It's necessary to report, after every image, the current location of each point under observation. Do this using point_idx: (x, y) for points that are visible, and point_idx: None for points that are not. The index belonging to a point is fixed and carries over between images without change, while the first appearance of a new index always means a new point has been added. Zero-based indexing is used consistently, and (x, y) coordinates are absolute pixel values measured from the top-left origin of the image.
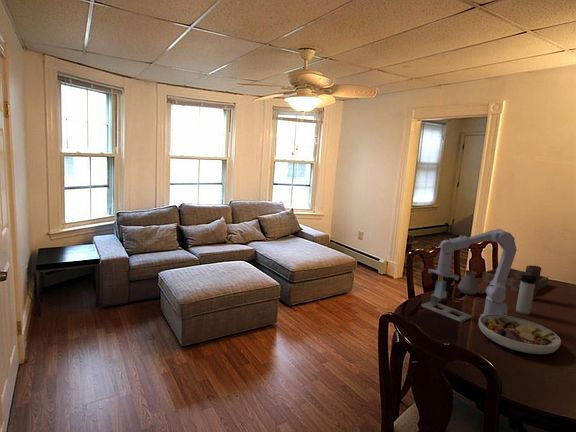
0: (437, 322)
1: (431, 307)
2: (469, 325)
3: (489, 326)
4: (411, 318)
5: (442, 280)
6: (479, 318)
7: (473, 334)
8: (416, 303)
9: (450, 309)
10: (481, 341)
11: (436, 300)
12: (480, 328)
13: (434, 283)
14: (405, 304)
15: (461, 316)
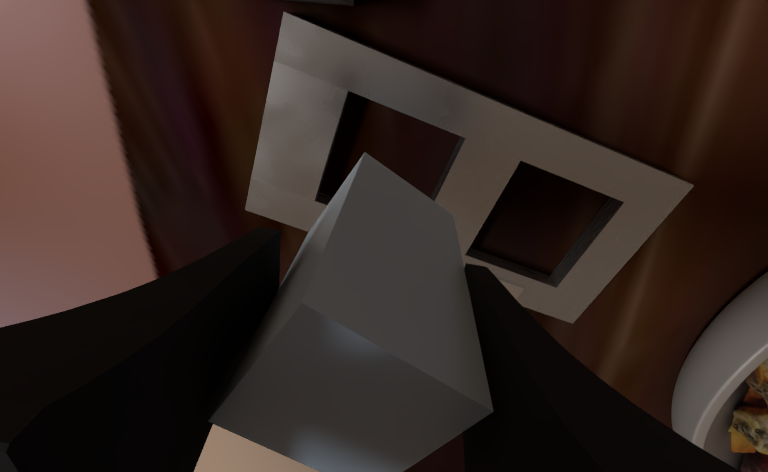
0: None
1: None
2: (616, 327)
3: (748, 436)
4: None
5: (328, 323)
6: (720, 395)
7: None
8: (192, 158)
9: (497, 163)
10: None
11: (327, 1)
12: (673, 426)
13: (226, 372)
14: (151, 244)
15: (583, 266)
